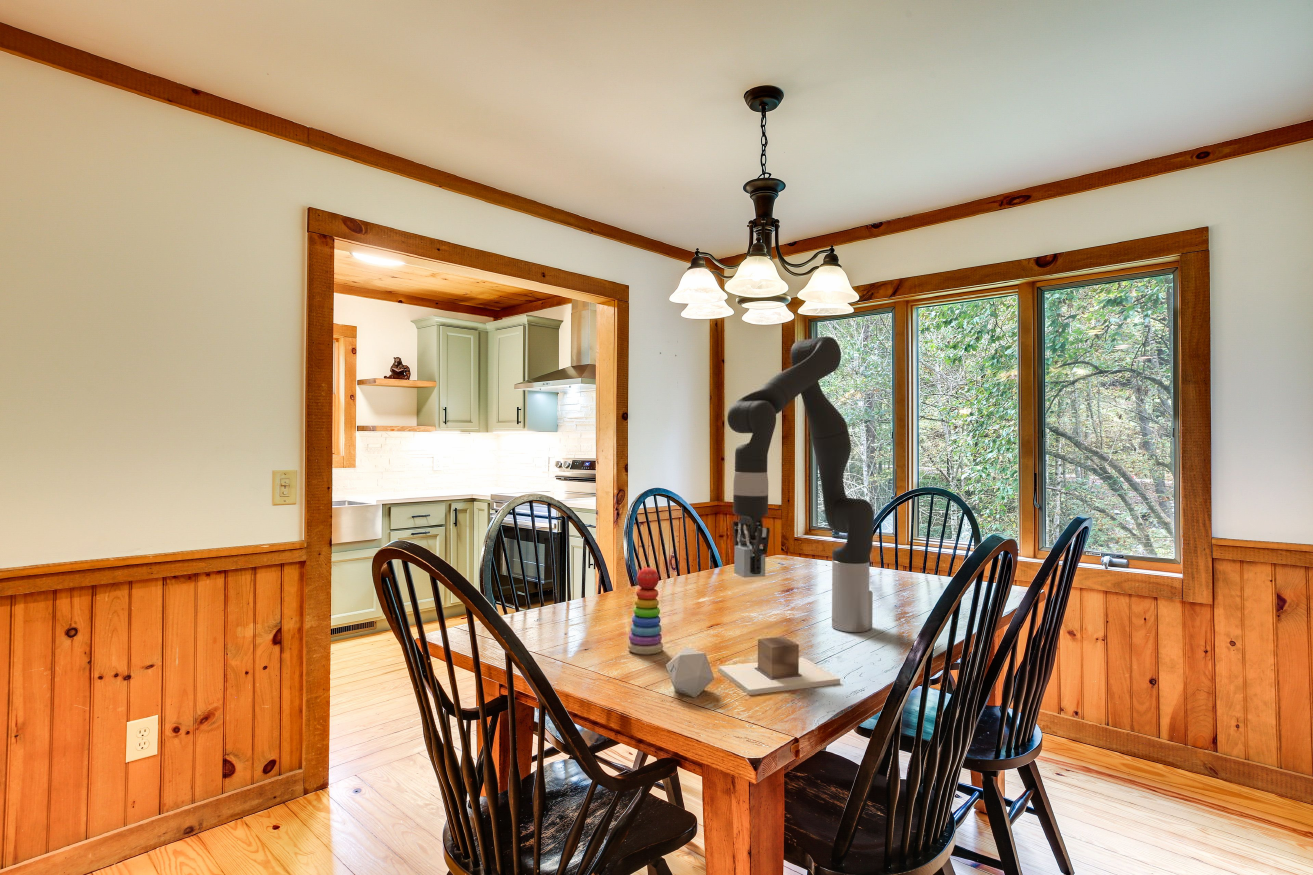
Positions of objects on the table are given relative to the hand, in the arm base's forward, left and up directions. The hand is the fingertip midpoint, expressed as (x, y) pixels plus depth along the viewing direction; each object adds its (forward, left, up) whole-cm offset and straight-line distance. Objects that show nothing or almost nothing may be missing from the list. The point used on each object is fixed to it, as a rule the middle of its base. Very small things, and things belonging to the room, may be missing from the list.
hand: (749, 571), depth 150 cm
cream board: (-1, +11, -20) cm, 22 cm away
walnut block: (-1, +11, -18) cm, 21 cm away
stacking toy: (+19, -14, -20) cm, 31 cm away
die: (+19, +13, -20) cm, 30 cm away
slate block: (0, 0, -1) cm, 1 cm away
